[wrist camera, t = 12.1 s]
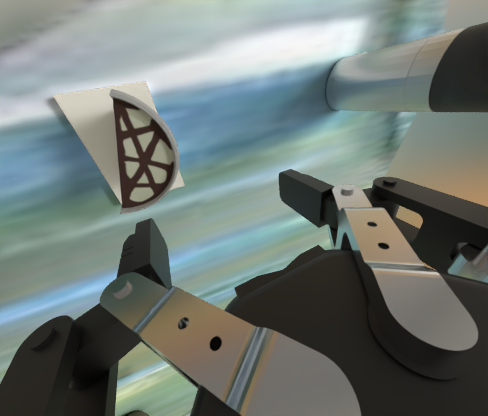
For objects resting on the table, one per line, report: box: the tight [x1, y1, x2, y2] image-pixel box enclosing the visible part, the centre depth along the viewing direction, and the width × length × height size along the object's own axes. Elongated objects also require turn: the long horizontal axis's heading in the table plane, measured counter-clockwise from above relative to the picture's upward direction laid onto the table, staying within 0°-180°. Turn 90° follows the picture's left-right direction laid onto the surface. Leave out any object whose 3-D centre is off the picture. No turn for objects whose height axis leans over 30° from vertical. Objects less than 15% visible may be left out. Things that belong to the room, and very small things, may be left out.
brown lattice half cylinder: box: [109, 89, 179, 214], centre depth 23 cm, size 12×6×10 cm, turn 168°
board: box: [53, 81, 184, 204], centre depth 26 cm, size 10×15×1 cm, turn 10°
